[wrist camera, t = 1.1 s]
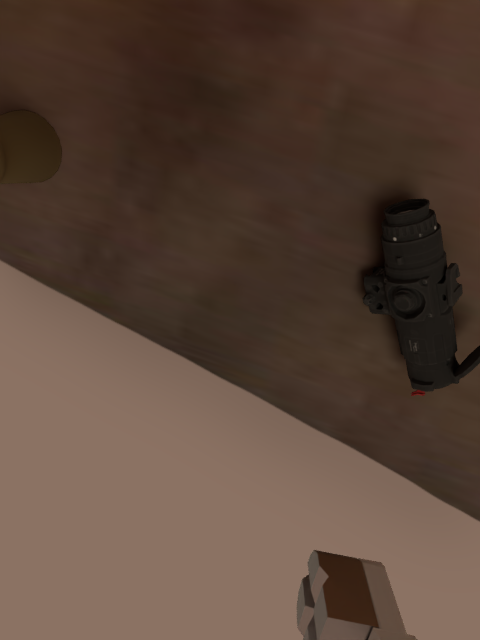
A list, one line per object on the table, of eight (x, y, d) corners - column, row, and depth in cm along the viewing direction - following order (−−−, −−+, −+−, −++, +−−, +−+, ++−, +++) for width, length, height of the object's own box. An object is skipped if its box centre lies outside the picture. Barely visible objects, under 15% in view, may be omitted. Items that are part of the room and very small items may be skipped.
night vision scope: (380, 193, 42) (497, 179, 35) (408, 349, 50) (510, 364, 43) (337, 225, 38) (462, 216, 31) (375, 392, 45) (482, 416, 38)
